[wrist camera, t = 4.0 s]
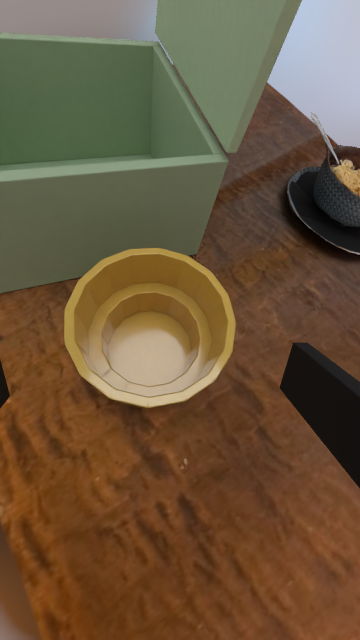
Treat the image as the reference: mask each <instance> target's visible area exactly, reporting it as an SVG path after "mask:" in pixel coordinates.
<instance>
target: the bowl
mask: <svg viewBox="0 0 360 640" xmlns="http://www.w3.org/2000/svg"><path fill="white" fill-rule="evenodd" d="M235 328H236V321H235V317H234V313H233V310H232V306H231V303H230V299H229V295H228V294H227V292H226V291H225V290H224V288H223V287H222V286H221V284H220V283H219V281H218V280H217V279H216V277H215V276H214V275H213V273H212V272H211V271H210V270H208V269H207V268H205V267H204V266H202V265H201V264H199V263H198V262H196V261H195V260H193V259H192V258H190V257H189V256H187V255H184V254H180V253H177V252H173V251H169V250H166V249H162V248H140V249H128V250H126V251H123V252H120V253H118V254H115V255H113V256H110V257H108V258H105V259H102V260H101V261H100V262H98V263H97V264H96V265H95V266H94V267H93V268H92V269H91V270H90V271H88V272H87V273H86V274H85V275H84V276H83V277H82V278H81V279H79V281H78V282H77V284H76V286H75V288H74V290H73V293H72V295H71V297H70V299H69V301H68V303H67V305H66V307H65V310H64V343H65V346H66V348H67V350H68V352H69V354H70V356H71V358H72V360H73V362H74V364H75V366H76V368H77V370H78V373H79V374H80V375H81V377H83V378H84V379H85V380H86V381H88V382H89V383H90V384H91V385H93V386H94V387H95V388H97V389H98V390H99V391H100V392H102V393H103V394H104V395H105V396H107V397H108V398H110V399H112V400H114V401H117V402H119V403H122V404H125V405H129V406H133V407H137V408H141V409H153V408H158V407H164V406H169V405H173V404H177V403H181V402H184V401H187V400H188V399H190V398H191V397H193V396H194V395H196V394H197V393H198V392H200V391H201V390H203V389H204V388H206V387H207V386H209V385H210V384H212V383H213V382H214V381H215V380H216V379H217V377H218V376H219V374H220V372H221V371H222V369H223V367H224V366H225V364H226V362H227V361H228V359H229V358H230V356H231V354H232V351H233V343H234V335H235Z"/></svg>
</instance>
